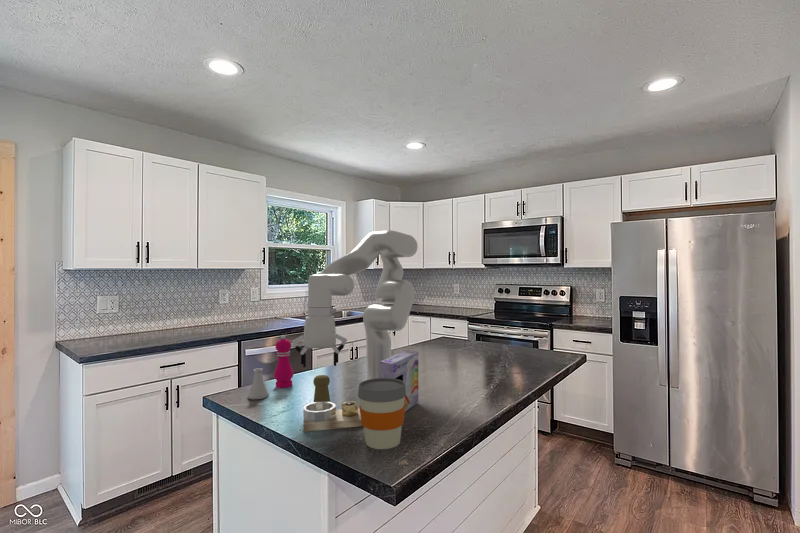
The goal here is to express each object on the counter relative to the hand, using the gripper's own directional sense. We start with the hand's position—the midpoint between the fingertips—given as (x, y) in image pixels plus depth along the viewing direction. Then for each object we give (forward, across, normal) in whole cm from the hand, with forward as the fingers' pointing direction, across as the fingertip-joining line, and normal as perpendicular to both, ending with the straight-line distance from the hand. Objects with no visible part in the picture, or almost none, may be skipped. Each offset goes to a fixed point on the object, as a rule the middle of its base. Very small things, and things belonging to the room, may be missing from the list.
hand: (319, 365), depth 130 cm
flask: (+15, +21, -21) cm, 33 cm away
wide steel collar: (+13, 0, +11) cm, 17 cm away
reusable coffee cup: (+15, -16, +28) cm, 36 cm away
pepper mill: (+14, +13, -33) cm, 38 cm away
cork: (+14, -1, -1) cm, 15 cm away
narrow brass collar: (+12, -9, +11) cm, 19 cm away
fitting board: (+14, -4, +11) cm, 19 cm away
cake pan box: (+14, -25, +7) cm, 29 cm away
